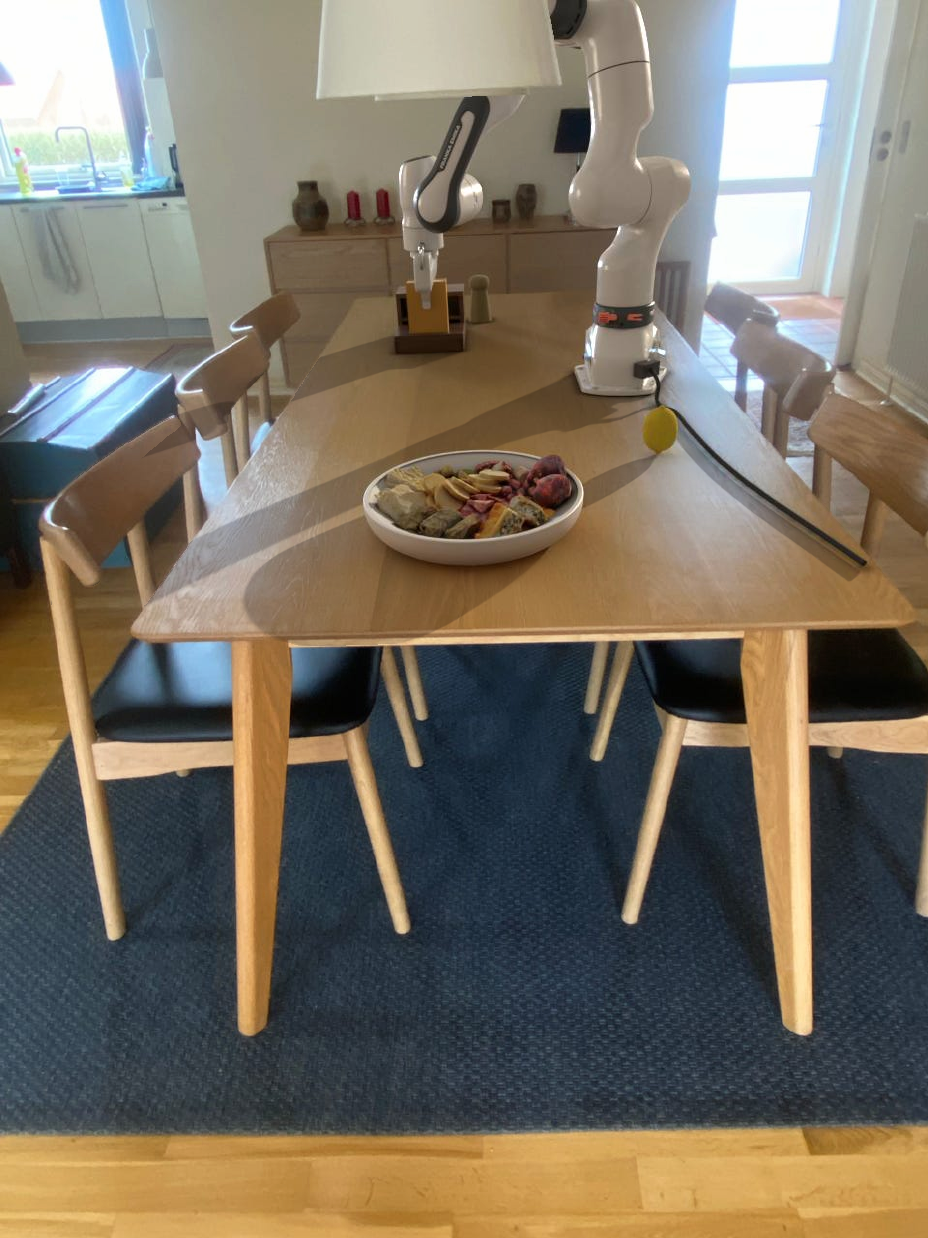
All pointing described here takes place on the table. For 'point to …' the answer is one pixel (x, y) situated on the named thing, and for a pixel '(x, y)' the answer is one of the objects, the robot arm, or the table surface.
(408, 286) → the book
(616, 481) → the table surface
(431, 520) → the bowl
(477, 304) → the tan pawn game piece
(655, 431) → the lemon
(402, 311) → the wooden l-shaped block
